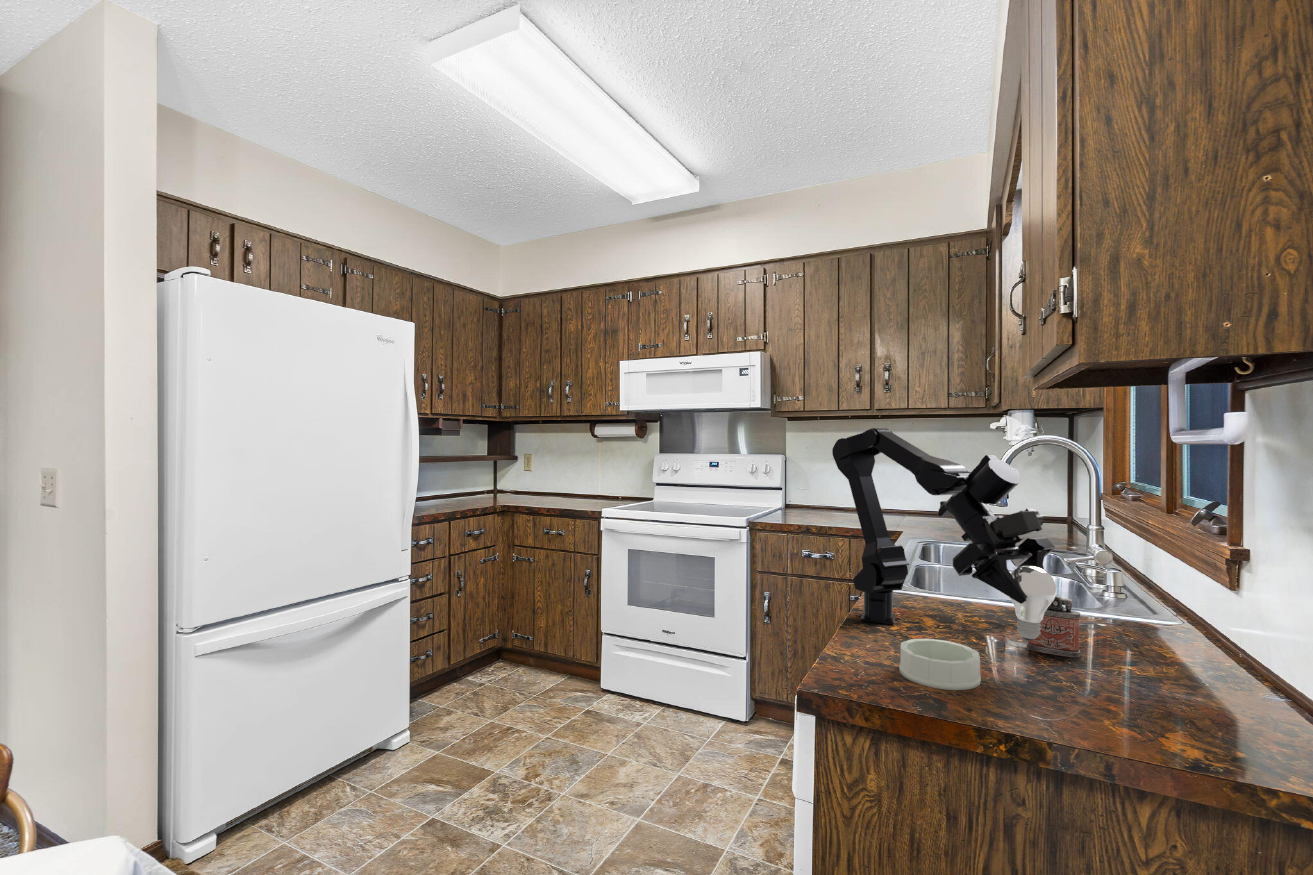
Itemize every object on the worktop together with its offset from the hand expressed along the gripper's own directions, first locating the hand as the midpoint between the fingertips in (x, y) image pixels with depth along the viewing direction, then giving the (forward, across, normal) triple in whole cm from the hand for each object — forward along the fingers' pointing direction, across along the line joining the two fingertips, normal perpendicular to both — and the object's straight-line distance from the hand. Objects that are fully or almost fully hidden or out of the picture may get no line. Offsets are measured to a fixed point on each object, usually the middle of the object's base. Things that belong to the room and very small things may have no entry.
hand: (1037, 600), depth 100 cm
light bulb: (+4, 0, +6) cm, 7 cm away
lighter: (+4, +14, +14) cm, 20 cm away
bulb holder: (+4, -14, +13) cm, 20 cm away
